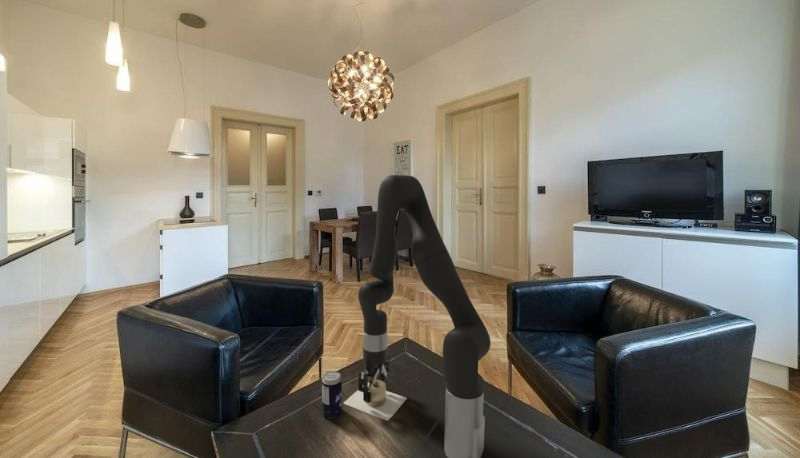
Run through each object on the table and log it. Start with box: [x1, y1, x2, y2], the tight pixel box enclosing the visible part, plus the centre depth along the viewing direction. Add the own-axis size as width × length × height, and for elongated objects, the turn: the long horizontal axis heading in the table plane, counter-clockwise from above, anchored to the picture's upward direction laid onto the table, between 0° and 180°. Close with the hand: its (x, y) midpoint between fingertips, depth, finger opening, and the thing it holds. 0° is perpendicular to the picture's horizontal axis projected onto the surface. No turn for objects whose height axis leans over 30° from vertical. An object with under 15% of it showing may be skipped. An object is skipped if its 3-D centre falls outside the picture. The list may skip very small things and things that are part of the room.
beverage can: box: [321, 371, 343, 419], centre depth 98 cm, size 6×6×12 cm
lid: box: [365, 379, 387, 407], centre depth 104 cm, size 6×6×6 cm
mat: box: [342, 385, 408, 422], centre depth 104 cm, size 16×12×1 cm
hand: (374, 394), depth 104 cm, fingers open, 8 cm apart
